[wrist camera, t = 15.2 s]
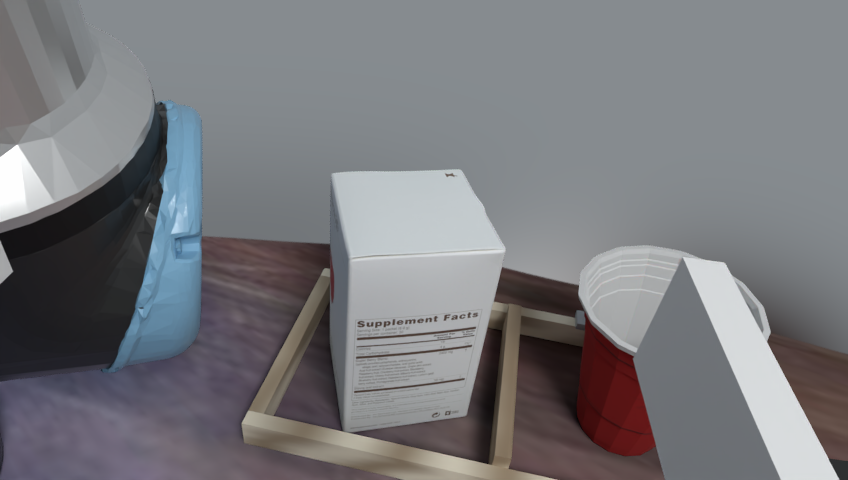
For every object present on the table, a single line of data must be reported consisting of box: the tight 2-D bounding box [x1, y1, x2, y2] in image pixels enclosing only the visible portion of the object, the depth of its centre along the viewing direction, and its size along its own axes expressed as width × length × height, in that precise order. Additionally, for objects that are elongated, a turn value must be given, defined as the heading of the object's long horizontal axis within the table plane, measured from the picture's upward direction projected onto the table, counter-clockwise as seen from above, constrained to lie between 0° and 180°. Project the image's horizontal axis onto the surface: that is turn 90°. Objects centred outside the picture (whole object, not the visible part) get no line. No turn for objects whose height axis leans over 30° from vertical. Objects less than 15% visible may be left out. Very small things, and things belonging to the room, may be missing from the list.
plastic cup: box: [577, 245, 771, 456], centre depth 38 cm, size 11×11×12 cm
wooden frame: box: [242, 268, 585, 480], centre depth 41 cm, size 32×16×3 cm, turn 80°
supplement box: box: [330, 169, 506, 433], centre depth 38 cm, size 9×9×15 cm
